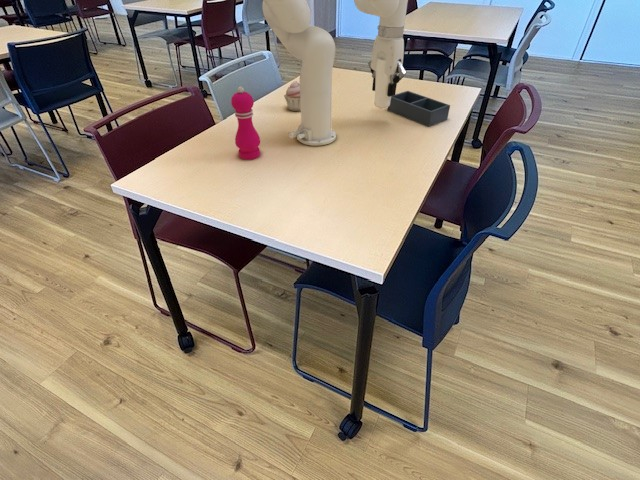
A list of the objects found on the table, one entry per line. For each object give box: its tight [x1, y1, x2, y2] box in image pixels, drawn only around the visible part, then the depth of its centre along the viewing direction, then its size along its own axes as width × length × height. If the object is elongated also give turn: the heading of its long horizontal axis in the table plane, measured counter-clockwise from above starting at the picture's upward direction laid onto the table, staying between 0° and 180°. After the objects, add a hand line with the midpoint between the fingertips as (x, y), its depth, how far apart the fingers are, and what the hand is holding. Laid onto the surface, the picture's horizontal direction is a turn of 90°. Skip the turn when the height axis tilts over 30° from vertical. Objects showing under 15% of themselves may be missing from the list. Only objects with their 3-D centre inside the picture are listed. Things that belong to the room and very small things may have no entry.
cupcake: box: [283, 80, 301, 112], centre depth 139 cm, size 9×9×10 cm
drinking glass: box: [373, 58, 396, 109], centre depth 124 cm, size 7×7×15 cm
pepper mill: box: [230, 86, 261, 161], centre depth 107 cm, size 7×7×20 cm
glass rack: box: [386, 90, 451, 127], centre depth 135 cm, size 10×19×5 cm, turn 38°
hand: (383, 92), depth 126 cm, fingers closed on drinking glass, 6 cm apart
